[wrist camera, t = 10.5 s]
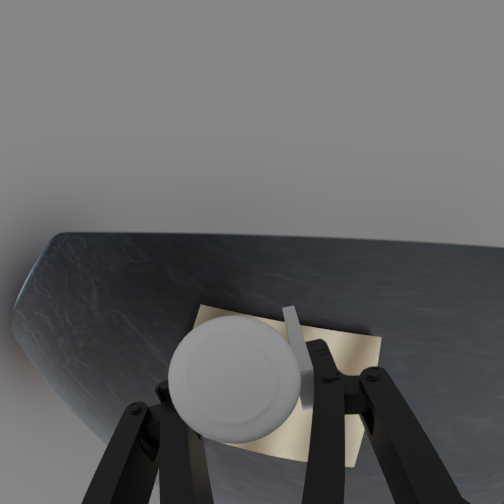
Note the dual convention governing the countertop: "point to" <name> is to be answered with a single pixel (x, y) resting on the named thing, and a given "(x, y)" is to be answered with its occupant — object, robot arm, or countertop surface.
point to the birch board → (299, 422)
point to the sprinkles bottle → (234, 379)
